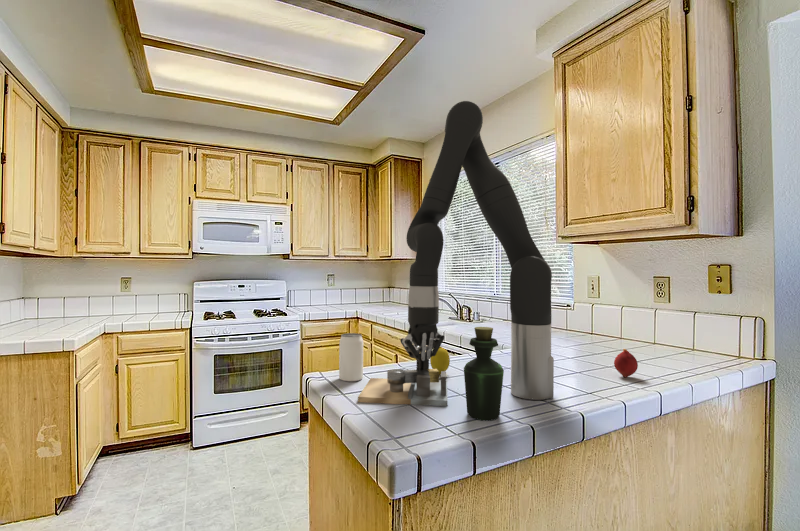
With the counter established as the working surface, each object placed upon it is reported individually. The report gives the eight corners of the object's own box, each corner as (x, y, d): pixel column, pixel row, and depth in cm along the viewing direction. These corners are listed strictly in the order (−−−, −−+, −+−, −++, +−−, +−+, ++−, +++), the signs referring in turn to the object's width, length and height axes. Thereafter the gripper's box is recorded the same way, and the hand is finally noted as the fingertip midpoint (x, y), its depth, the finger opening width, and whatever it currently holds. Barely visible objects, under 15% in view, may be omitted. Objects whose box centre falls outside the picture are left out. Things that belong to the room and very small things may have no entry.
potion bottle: (512, 417, 84) (512, 329, 84) (482, 425, 80) (483, 332, 80) (483, 406, 91) (484, 324, 91) (455, 413, 86) (455, 327, 86)
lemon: (428, 372, 120) (428, 344, 120) (447, 371, 121) (447, 344, 121) (431, 377, 115) (432, 348, 115) (451, 376, 115) (451, 348, 115)
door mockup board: (447, 385, 107) (447, 364, 107) (447, 406, 91) (447, 381, 91) (370, 382, 109) (371, 361, 109) (358, 402, 93) (358, 377, 93)
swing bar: (388, 385, 95) (388, 373, 95) (386, 380, 100) (386, 369, 100) (439, 383, 97) (439, 372, 97) (435, 378, 102) (435, 367, 102)
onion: (638, 376, 117) (638, 348, 117) (637, 381, 112) (637, 351, 112) (615, 373, 120) (615, 346, 120) (613, 377, 115) (613, 349, 115)
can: (358, 382, 109) (359, 337, 109) (335, 381, 110) (336, 336, 110) (365, 376, 115) (366, 333, 115) (343, 375, 116) (344, 332, 116)
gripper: (432, 302, 109) (432, 367, 109) (392, 304, 101) (391, 375, 101) (453, 304, 103) (452, 374, 103) (412, 307, 95) (411, 382, 95)
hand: (422, 374), depth 102 cm, fingers closed
